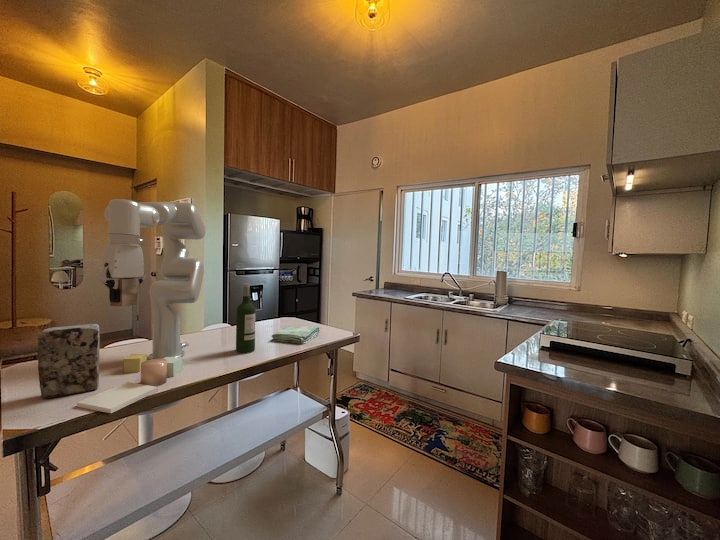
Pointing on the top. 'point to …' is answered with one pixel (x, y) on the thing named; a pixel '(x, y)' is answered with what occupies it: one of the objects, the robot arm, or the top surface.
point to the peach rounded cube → (154, 372)
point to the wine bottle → (245, 324)
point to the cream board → (117, 397)
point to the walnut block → (127, 292)
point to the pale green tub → (174, 365)
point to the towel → (295, 334)
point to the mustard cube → (134, 362)
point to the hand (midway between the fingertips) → (123, 300)
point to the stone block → (68, 359)
